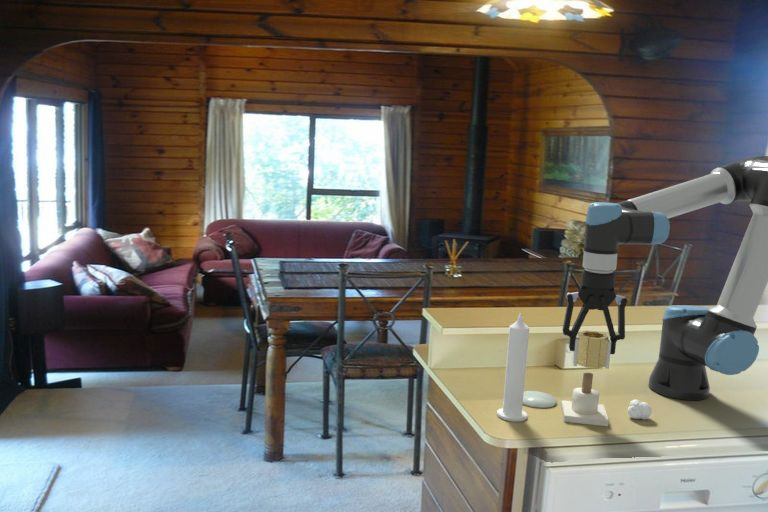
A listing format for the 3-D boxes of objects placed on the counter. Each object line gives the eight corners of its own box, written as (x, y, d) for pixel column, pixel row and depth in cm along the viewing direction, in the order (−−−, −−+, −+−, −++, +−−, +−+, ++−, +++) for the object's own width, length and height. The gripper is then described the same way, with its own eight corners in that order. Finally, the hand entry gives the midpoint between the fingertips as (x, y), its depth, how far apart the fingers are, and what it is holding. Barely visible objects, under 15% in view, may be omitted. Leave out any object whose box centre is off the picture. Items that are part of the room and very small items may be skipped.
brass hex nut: (603, 360, 177) (605, 332, 176) (606, 369, 171) (609, 339, 170) (575, 357, 179) (577, 329, 177) (577, 366, 172) (580, 337, 171)
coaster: (555, 395, 190) (555, 393, 190) (557, 410, 180) (557, 407, 180) (515, 391, 191) (515, 389, 191) (515, 405, 181) (516, 403, 181)
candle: (520, 424, 170) (529, 318, 166) (491, 416, 174) (500, 313, 169) (531, 415, 176) (540, 312, 171) (503, 407, 180) (512, 307, 175)
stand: (602, 410, 181) (607, 369, 179) (608, 426, 171) (612, 383, 170) (561, 405, 183) (565, 365, 181) (563, 421, 173) (568, 378, 171)
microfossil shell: (631, 401, 175) (654, 406, 174) (627, 394, 180) (650, 398, 179) (627, 419, 176) (651, 424, 175) (624, 412, 181) (647, 416, 180)
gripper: (640, 269, 173) (630, 364, 177) (554, 264, 176) (547, 357, 180) (646, 276, 166) (636, 374, 170) (556, 270, 169) (549, 367, 173)
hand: (590, 365), depth 175 cm, fingers closed on brass hex nut, 7 cm apart
